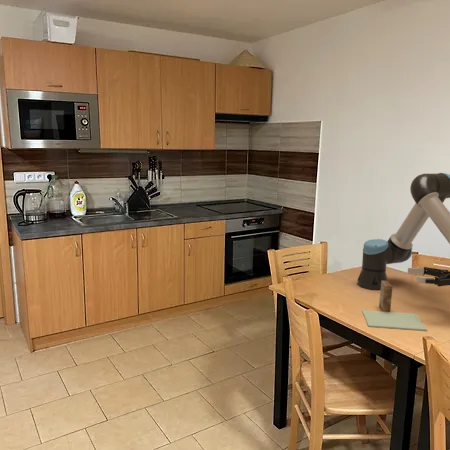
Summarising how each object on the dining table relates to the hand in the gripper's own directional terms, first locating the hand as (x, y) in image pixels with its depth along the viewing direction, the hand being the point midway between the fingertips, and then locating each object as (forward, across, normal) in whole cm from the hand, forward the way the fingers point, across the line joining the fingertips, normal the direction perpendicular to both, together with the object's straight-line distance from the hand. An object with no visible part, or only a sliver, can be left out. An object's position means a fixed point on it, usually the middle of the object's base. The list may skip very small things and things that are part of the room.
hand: (412, 275), depth 181 cm
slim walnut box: (+10, +1, -16) cm, 19 cm away
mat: (+9, -11, -16) cm, 22 cm away
